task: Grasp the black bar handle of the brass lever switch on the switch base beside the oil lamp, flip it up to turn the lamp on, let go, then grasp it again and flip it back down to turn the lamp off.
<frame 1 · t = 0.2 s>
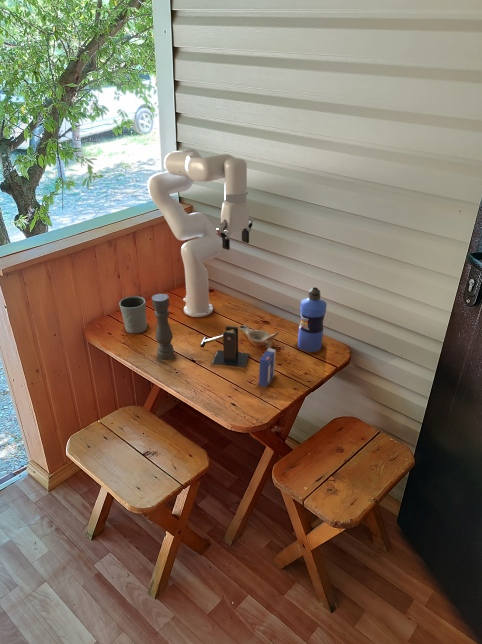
hand: (235, 245, 172), 36 cm above the table, tool pointing down, fingers open, 9 cm apart
water bottle: (309, 347, 183), on the table
switch lever: (218, 338, 170), point 9 cm above the table, hinge at -25.0°
oil lamp: (257, 343, 186), on the table
grey green planter pot: (135, 328, 194), on the table
walkman: (266, 383, 164), on the table
candle holder: (166, 358, 176), on the table
switch base: (231, 361, 175), on the table
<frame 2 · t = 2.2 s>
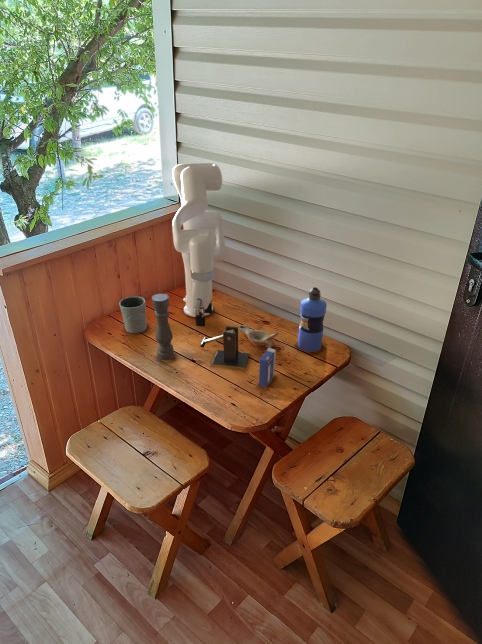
hand: (204, 319, 168), 16 cm above the table, tool pointing down, fingers open, 9 cm apart
nothing on the table moved.
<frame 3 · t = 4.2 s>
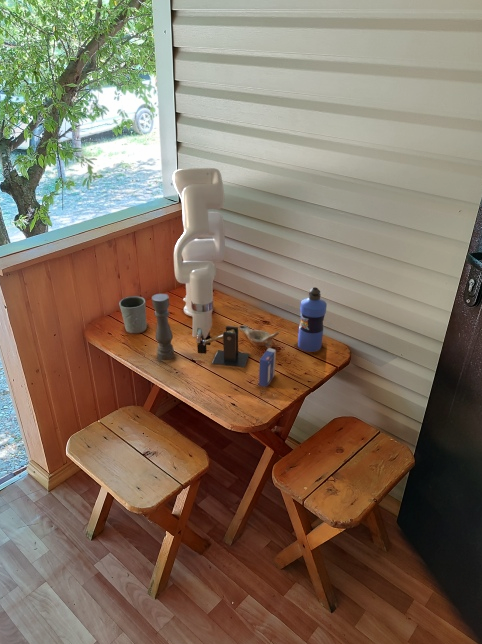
hand: (204, 348, 174), 4 cm above the table, tool pointing down, fingers closed on switch lever, 5 cm apart
switch lever: (218, 338, 170), point 9 cm above the table, hinge at -25.0°, touching gripper
everything else where it was.
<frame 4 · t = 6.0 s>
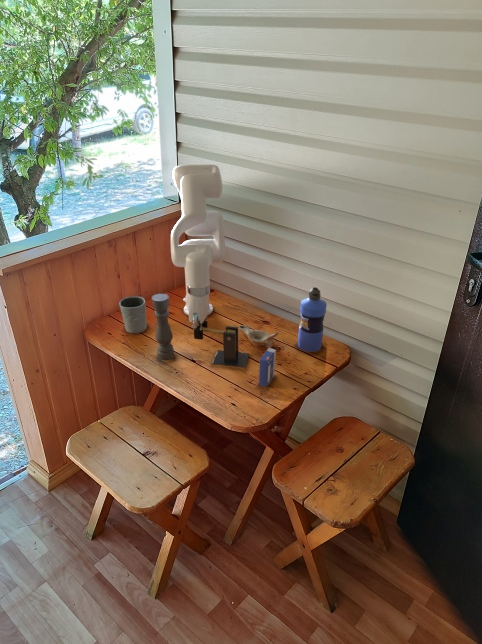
hand: (201, 334, 171), 10 cm above the table, tool pointing down, fingers closed on switch lever, 5 cm apart
switch lever: (216, 331, 169), point 12 cm above the table, hinge at 4.7°, touching gripper
everything else where it was.
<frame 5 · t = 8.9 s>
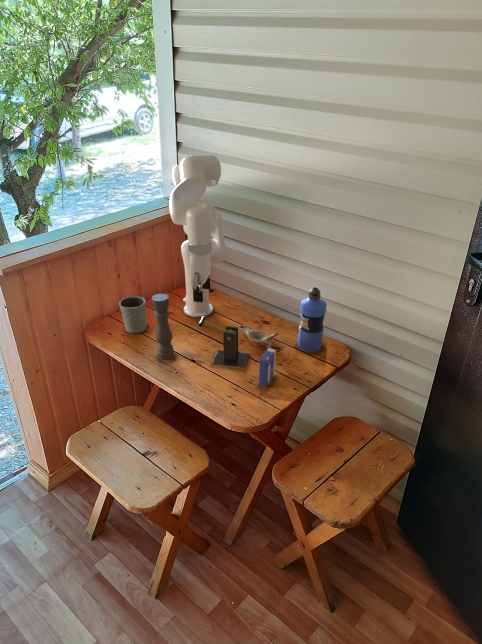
hand: (202, 295, 162), 26 cm above the table, tool pointing down, fingers open, 9 cm apart
switch lever: (217, 328, 168), point 13 cm above the table, hinge at 21.8°
everything else where it was.
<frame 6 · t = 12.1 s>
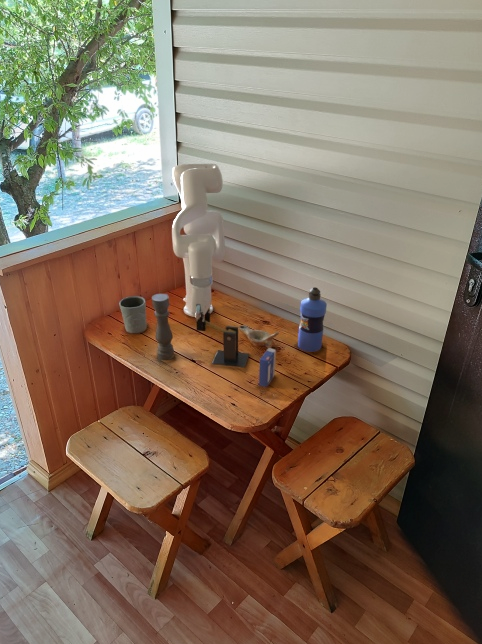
hand: (203, 325, 169), 14 cm above the table, tool pointing down, fingers closed on switch lever, 5 cm apart
switch lever: (217, 328, 168), point 13 cm above the table, hinge at 21.8°, touching gripper
everything else where it was.
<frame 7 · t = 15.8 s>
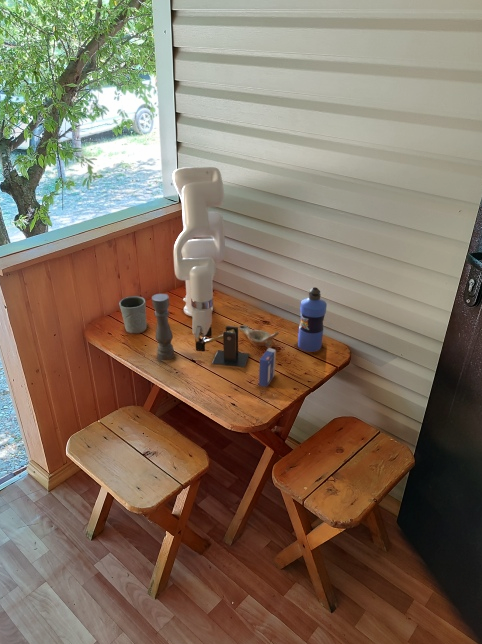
hand: (204, 343, 173), 6 cm above the table, tool pointing down, fingers open, 9 cm apart
switch lever: (218, 338, 170), point 9 cm above the table, hinge at -25.0°
everything else where it was.
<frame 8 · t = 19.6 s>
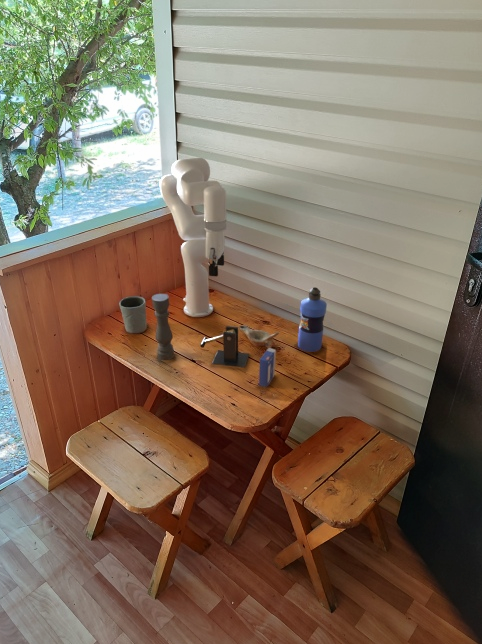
hand: (216, 270, 174), 28 cm above the table, tool pointing down, fingers open, 9 cm apart
nothing on the table moved.
at the end: switch lever reached +22° during the clip, -25° at the end; switch lever at -25° (first picture: -25°) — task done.
